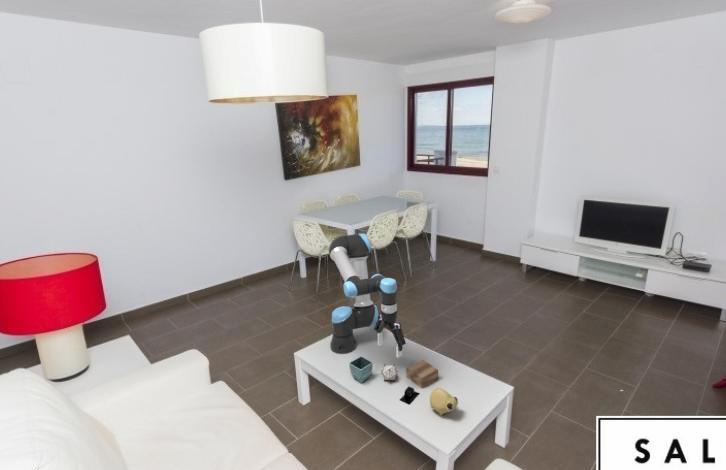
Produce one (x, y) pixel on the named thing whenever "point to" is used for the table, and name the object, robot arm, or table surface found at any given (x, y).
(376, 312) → the robot arm
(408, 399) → the black angular block
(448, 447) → the table surface
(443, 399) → the toy pig
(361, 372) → the flower pot
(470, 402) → the table surface
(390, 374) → the game die
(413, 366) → the walnut block
